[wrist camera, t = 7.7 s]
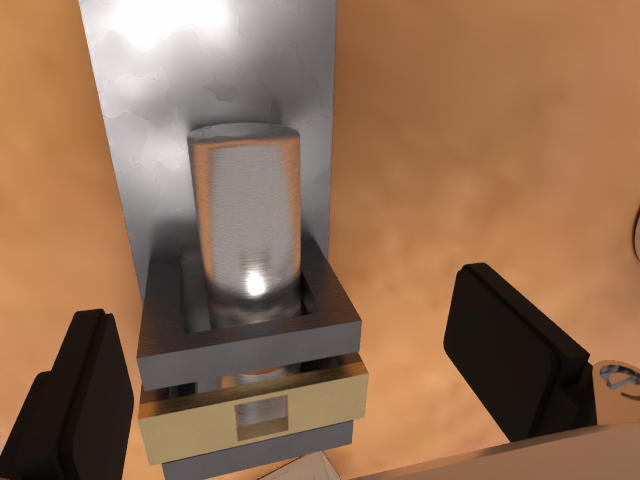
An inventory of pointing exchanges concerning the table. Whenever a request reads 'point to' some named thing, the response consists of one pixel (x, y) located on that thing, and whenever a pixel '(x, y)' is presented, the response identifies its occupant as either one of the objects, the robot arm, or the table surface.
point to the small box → (306, 469)
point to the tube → (249, 236)
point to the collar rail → (182, 229)
